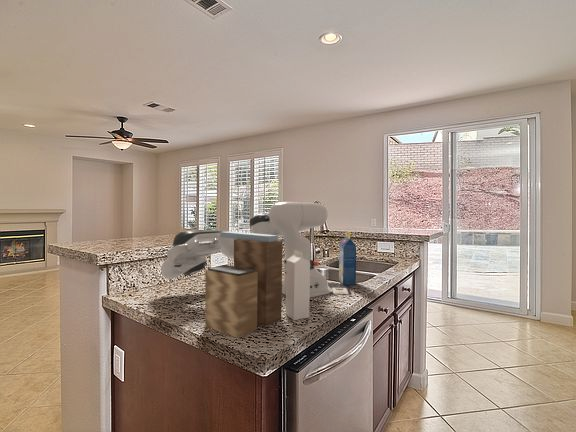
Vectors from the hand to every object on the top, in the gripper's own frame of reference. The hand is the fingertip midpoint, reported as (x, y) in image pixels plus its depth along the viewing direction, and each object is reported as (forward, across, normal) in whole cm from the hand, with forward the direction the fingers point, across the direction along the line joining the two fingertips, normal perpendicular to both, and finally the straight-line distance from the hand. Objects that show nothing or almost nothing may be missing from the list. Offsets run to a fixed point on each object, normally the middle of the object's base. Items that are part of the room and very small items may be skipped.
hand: (207, 241), depth 117 cm
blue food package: (+12, -64, -34) cm, 73 cm away
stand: (+10, 0, -33) cm, 34 cm away
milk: (+17, -10, -38) cm, 43 cm away
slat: (+19, 0, -8) cm, 20 cm away
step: (+9, +11, -32) cm, 35 cm away
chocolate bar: (+13, -51, -35) cm, 63 cm away
